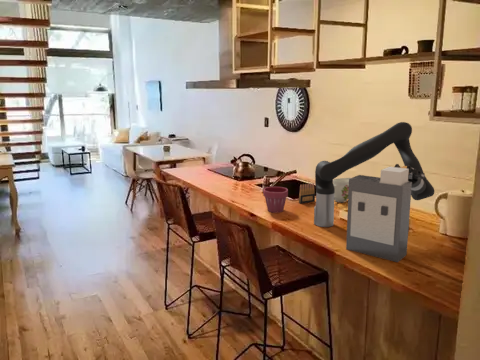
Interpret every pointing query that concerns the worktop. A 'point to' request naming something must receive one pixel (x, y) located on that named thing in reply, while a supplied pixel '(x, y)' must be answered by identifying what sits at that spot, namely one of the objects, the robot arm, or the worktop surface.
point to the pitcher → (341, 189)
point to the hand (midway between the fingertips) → (402, 166)
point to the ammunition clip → (307, 194)
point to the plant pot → (275, 198)
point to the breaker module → (394, 175)
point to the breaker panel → (378, 217)
